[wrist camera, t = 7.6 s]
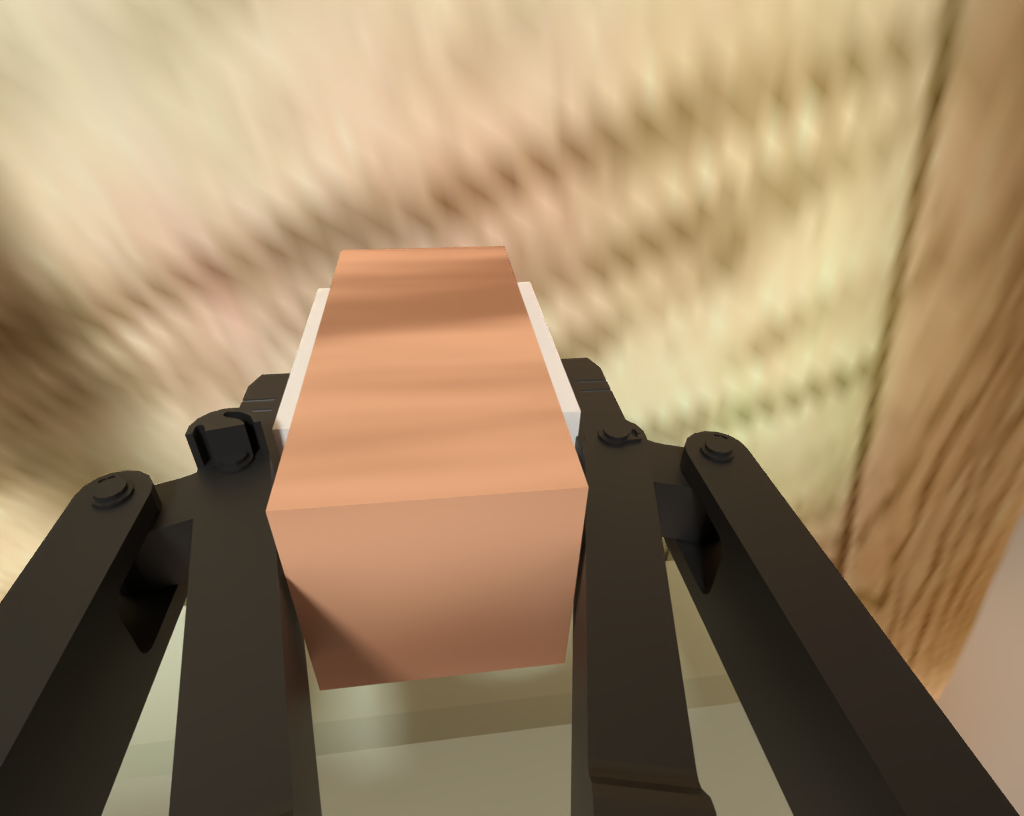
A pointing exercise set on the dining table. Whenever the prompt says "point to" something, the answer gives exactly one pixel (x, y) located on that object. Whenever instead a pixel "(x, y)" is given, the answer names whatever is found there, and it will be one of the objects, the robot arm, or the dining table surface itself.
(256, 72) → the dining table surface
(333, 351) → the paddle
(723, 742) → the shelf
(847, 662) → the robot arm
